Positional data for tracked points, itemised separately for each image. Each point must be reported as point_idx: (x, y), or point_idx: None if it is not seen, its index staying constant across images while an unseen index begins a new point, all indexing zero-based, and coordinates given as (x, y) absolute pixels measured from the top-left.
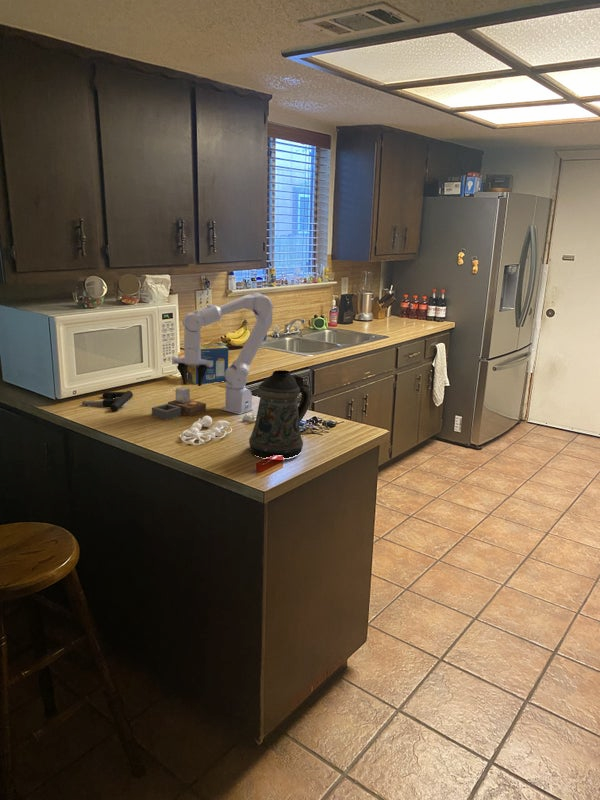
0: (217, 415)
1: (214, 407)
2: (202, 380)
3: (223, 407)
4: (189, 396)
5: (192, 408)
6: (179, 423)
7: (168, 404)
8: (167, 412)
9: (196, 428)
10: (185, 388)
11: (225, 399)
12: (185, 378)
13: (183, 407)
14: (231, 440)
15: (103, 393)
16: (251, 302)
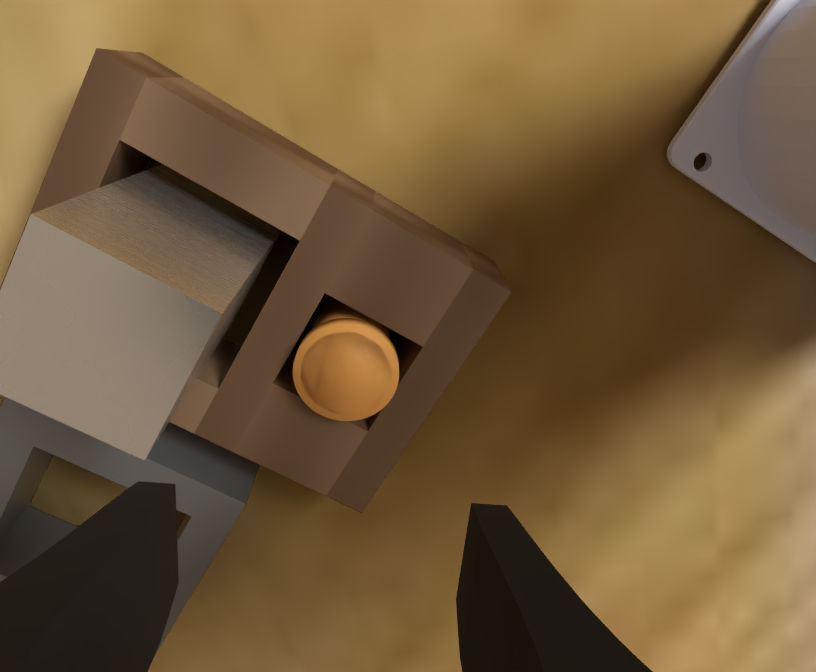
0: (641, 372)
1: (577, 60)
2: (545, 560)
3: (711, 113)
4: (249, 273)
5: (379, 481)
6: (323, 645)
7: (45, 427)
8: (160, 644)
9: None
10: (139, 321)
11: (808, 150)
12: (122, 669)
13: (260, 456)
14: None
15: None
16: None
